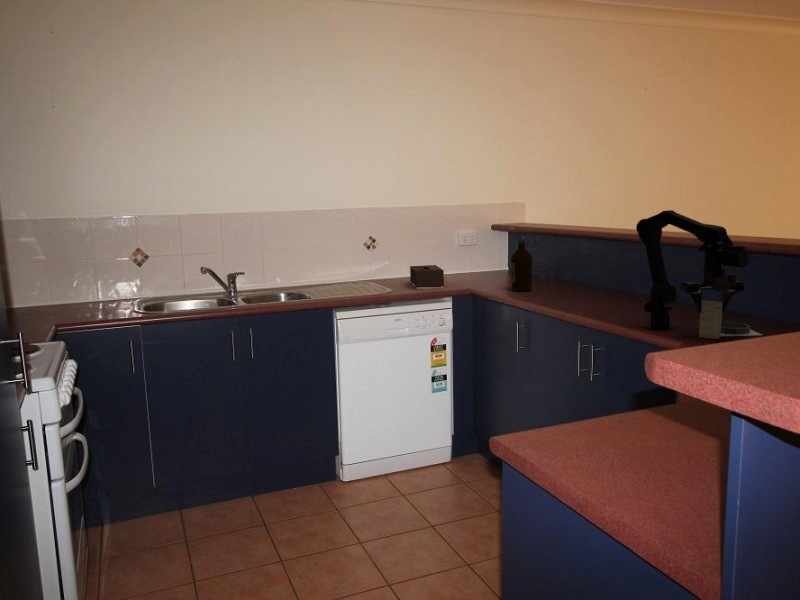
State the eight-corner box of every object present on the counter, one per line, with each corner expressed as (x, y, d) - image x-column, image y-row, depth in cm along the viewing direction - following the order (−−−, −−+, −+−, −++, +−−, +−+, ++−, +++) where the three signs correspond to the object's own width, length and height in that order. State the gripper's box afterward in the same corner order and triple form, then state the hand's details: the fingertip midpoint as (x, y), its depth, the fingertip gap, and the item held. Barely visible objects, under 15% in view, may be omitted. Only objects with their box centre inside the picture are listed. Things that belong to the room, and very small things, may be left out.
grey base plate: (720, 337, 220) (720, 336, 220) (702, 328, 234) (702, 327, 234) (763, 336, 219) (763, 334, 219) (742, 327, 233) (742, 326, 233)
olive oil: (531, 288, 337) (530, 239, 333) (533, 292, 327) (533, 241, 323) (510, 289, 338) (509, 240, 334) (512, 292, 327) (511, 242, 323)
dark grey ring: (723, 335, 221) (723, 329, 221) (708, 328, 232) (709, 322, 232) (755, 334, 221) (756, 328, 221) (740, 327, 232) (740, 321, 231)
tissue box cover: (444, 289, 348) (443, 270, 347) (416, 290, 347) (416, 271, 345) (435, 282, 374) (435, 264, 372) (410, 283, 372) (410, 266, 370)
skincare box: (698, 338, 220) (699, 302, 218) (700, 335, 223) (702, 299, 221) (719, 340, 216) (720, 303, 214) (721, 337, 220) (723, 301, 218)
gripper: (694, 269, 208) (692, 318, 211) (754, 267, 208) (752, 316, 210) (680, 265, 219) (678, 311, 222) (737, 263, 219) (735, 309, 221)
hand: (711, 312), depth 218 cm, fingers closed on skincare box, 7 cm apart
